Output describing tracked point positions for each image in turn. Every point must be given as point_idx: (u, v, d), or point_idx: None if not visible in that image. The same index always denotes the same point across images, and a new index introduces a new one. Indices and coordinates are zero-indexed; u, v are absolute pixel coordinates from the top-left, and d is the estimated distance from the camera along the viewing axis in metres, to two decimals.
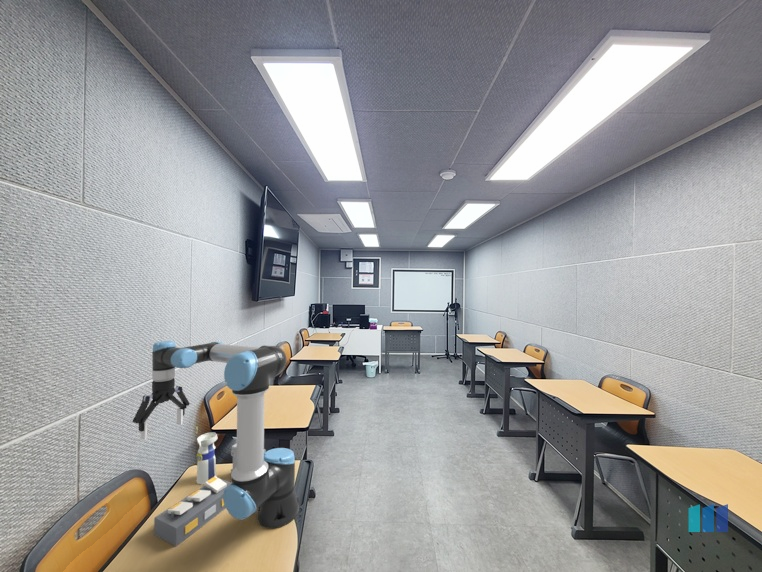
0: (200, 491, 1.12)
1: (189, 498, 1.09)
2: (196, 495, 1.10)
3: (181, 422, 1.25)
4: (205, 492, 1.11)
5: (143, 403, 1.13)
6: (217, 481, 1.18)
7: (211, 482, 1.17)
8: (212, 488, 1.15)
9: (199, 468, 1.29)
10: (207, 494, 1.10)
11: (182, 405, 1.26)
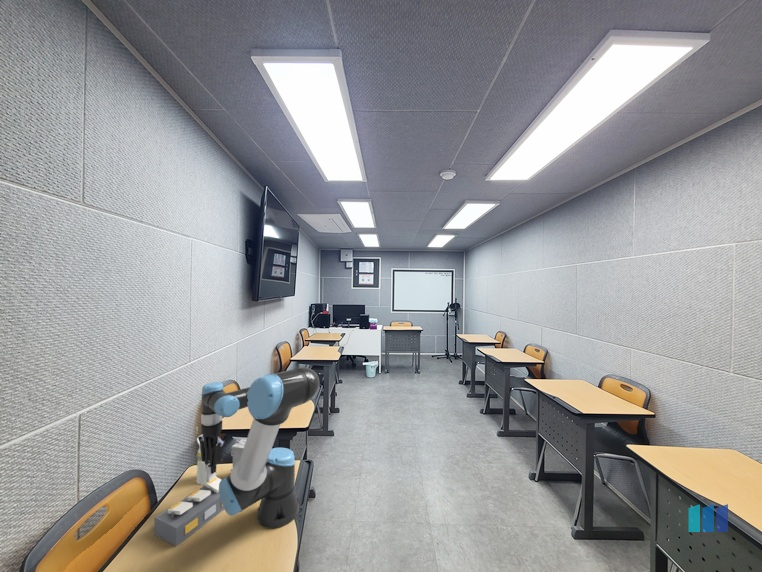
0: (200, 491, 1.12)
1: (189, 498, 1.09)
2: (196, 495, 1.10)
3: (208, 479, 1.17)
4: (205, 492, 1.11)
5: None
6: (217, 481, 1.18)
7: (211, 482, 1.17)
8: (212, 488, 1.15)
9: (199, 468, 1.29)
10: (207, 494, 1.10)
11: (211, 461, 1.17)
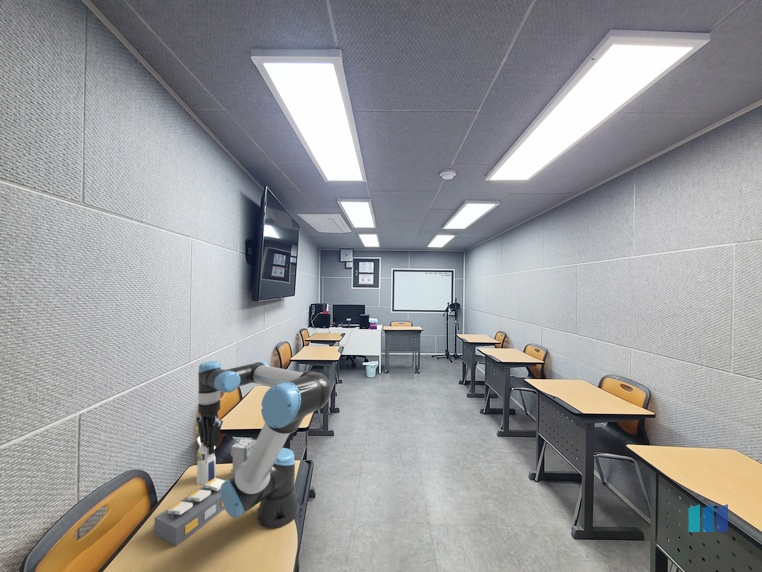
0: (200, 491, 1.12)
1: (189, 498, 1.09)
2: (196, 495, 1.10)
3: (206, 461, 1.13)
4: (205, 492, 1.11)
5: None
6: (217, 481, 1.18)
7: (211, 483, 1.17)
8: (212, 487, 1.15)
9: (199, 468, 1.29)
10: (207, 494, 1.10)
11: (208, 442, 1.13)
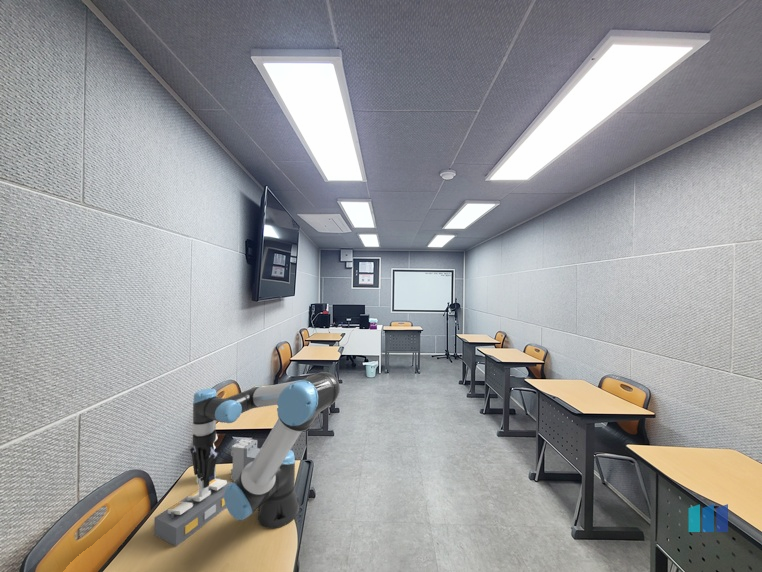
0: None
1: (189, 498, 1.09)
2: (196, 495, 1.10)
3: (201, 494, 1.08)
4: None
5: None
6: (217, 481, 1.18)
7: (211, 483, 1.17)
8: (212, 487, 1.15)
9: None
10: (207, 494, 1.10)
11: (203, 475, 1.08)
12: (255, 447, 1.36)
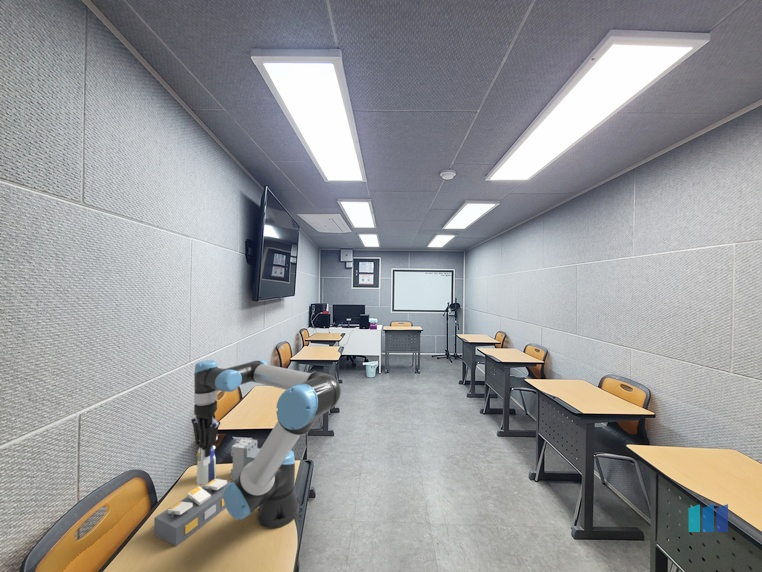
0: (200, 490, 1.12)
1: (189, 495, 1.09)
2: (196, 495, 1.10)
3: (202, 463, 1.09)
4: (205, 495, 1.10)
5: None
6: (217, 481, 1.18)
7: (211, 483, 1.17)
8: (212, 487, 1.15)
9: (199, 468, 1.29)
10: (207, 498, 1.10)
11: (205, 444, 1.09)
12: (255, 447, 1.36)
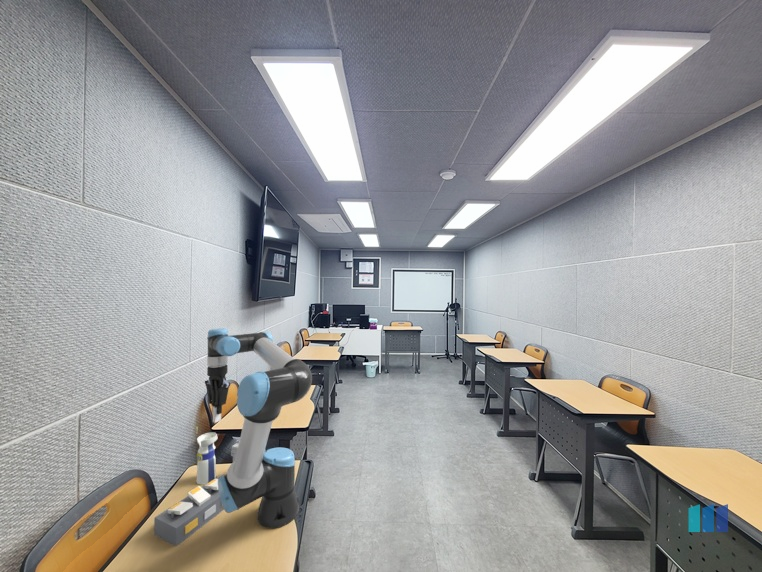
0: (201, 490, 1.12)
1: (189, 495, 1.09)
2: (196, 495, 1.10)
3: (214, 420, 1.22)
4: (205, 495, 1.10)
5: None
6: (217, 481, 1.18)
7: (211, 483, 1.17)
8: (212, 487, 1.15)
9: (199, 468, 1.29)
10: (207, 499, 1.10)
11: (216, 402, 1.22)
12: None
